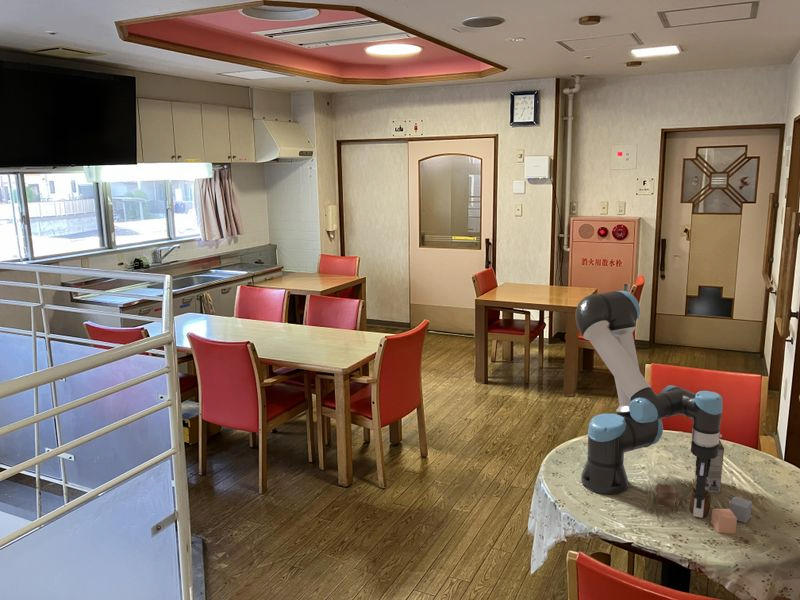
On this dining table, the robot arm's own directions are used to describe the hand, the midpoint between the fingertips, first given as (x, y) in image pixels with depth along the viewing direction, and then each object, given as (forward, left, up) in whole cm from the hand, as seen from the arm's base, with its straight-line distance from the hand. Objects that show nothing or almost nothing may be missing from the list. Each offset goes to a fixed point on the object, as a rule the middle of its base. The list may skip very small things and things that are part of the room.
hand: (698, 510), depth 204 cm
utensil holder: (0, 0, -1) cm, 1 cm away
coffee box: (+1, +19, -1) cm, 19 cm away
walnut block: (-10, +2, -1) cm, 10 cm away
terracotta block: (+7, -6, -1) cm, 9 cm away
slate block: (+11, +3, -1) cm, 12 cm away
